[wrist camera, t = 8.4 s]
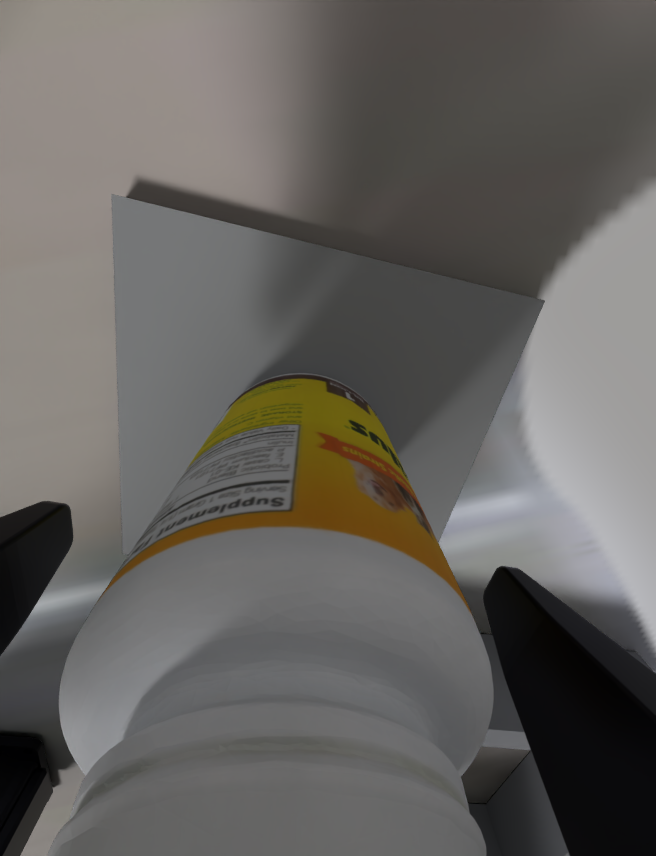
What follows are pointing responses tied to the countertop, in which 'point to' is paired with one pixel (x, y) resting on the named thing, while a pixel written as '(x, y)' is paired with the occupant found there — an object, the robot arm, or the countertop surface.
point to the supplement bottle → (280, 655)
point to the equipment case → (516, 784)
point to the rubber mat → (296, 347)
